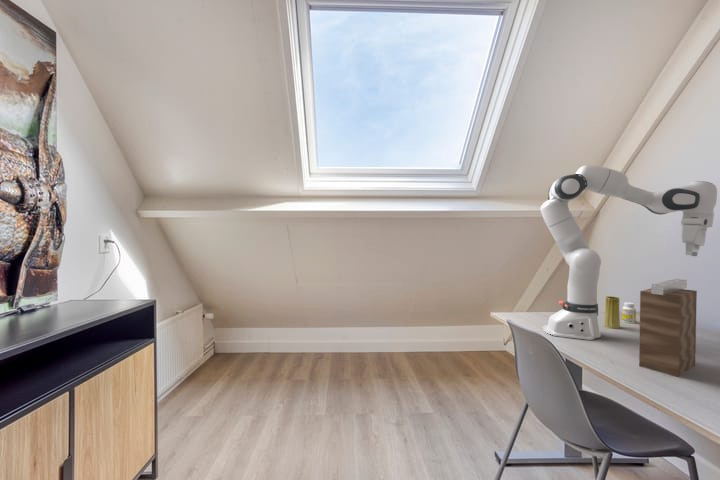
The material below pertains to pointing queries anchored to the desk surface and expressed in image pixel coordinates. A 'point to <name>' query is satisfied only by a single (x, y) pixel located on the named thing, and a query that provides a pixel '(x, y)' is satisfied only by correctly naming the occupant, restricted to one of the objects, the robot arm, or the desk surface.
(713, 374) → the desk surface
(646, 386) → the desk surface
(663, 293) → the block
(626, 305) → the supplement bottle
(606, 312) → the vase
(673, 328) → the pedestal
